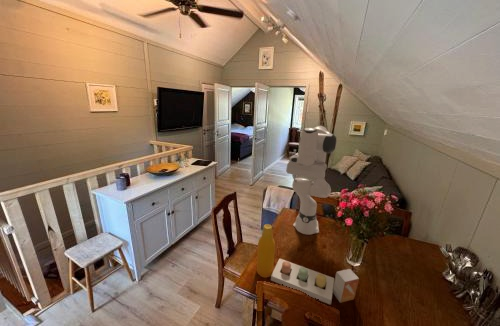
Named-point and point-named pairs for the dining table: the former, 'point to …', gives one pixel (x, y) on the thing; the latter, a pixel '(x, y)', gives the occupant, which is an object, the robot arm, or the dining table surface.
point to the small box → (345, 285)
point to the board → (303, 286)
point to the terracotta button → (286, 268)
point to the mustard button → (320, 281)
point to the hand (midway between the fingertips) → (303, 183)
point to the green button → (303, 274)
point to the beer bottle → (266, 252)
